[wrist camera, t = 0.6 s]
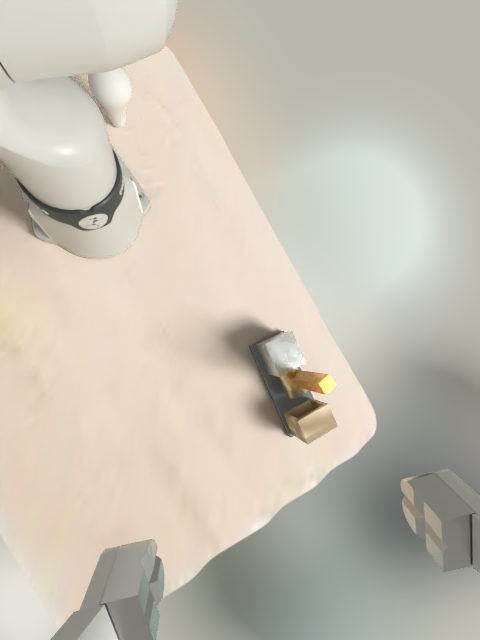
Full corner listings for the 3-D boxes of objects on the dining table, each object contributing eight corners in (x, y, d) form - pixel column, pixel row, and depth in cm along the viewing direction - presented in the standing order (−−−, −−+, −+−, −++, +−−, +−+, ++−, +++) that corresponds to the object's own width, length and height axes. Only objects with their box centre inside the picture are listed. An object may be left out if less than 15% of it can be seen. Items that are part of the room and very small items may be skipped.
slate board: (249, 346, 53) (250, 346, 52) (281, 331, 55) (283, 330, 54) (288, 436, 53) (290, 437, 52) (319, 417, 55) (322, 419, 54)
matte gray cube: (255, 344, 53) (265, 344, 47) (280, 333, 54) (292, 331, 49) (268, 374, 53) (279, 376, 47) (292, 362, 54) (306, 363, 49)
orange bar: (262, 346, 52) (295, 343, 38) (279, 337, 53) (318, 332, 39) (284, 397, 52) (326, 412, 38) (301, 388, 53) (347, 400, 39)
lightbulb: (107, 102, 52) (91, 38, 41) (141, 117, 53) (135, 58, 43) (95, 132, 51) (76, 74, 40) (131, 146, 52) (121, 93, 42)
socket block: (283, 413, 52) (297, 421, 47) (310, 398, 54) (327, 403, 48) (292, 434, 52) (307, 444, 47) (319, 418, 54) (337, 426, 48)
